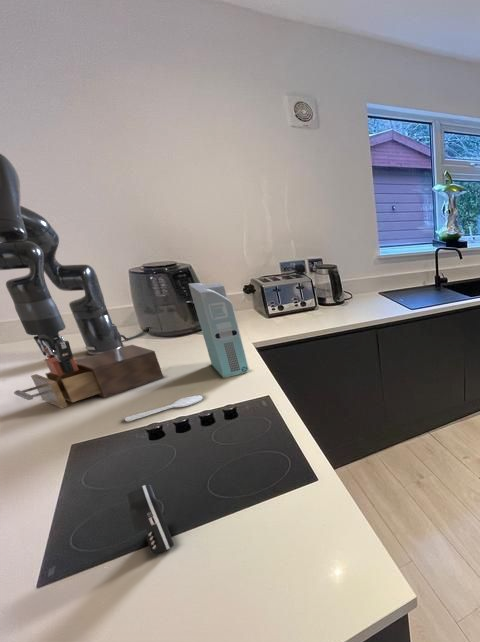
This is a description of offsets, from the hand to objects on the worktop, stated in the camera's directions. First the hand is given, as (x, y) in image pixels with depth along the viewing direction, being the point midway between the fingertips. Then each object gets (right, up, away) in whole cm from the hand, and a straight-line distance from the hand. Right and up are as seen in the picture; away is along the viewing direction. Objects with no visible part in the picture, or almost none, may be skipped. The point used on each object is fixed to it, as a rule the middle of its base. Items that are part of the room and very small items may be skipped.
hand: (64, 370), depth 117 cm
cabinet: (+4, -5, +14) cm, 15 cm away
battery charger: (+67, -30, -44) cm, 85 cm away
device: (+30, 0, +26) cm, 40 cm away
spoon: (+31, -11, -1) cm, 33 cm away
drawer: (0, -8, +3) cm, 9 cm away
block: (0, 0, 0) cm, 0 cm away
